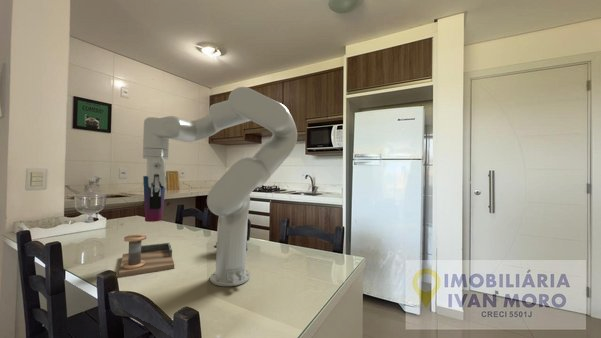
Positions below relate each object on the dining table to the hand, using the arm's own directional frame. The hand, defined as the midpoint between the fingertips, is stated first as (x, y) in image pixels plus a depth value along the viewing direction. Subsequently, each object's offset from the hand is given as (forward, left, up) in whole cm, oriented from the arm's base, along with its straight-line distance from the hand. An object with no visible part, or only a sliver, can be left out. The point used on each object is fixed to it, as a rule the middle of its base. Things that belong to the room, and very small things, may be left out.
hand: (154, 206), depth 85 cm
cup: (0, 0, -5) cm, 5 cm away
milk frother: (+14, -31, -23) cm, 41 cm away
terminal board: (+10, +1, -22) cm, 25 cm away
